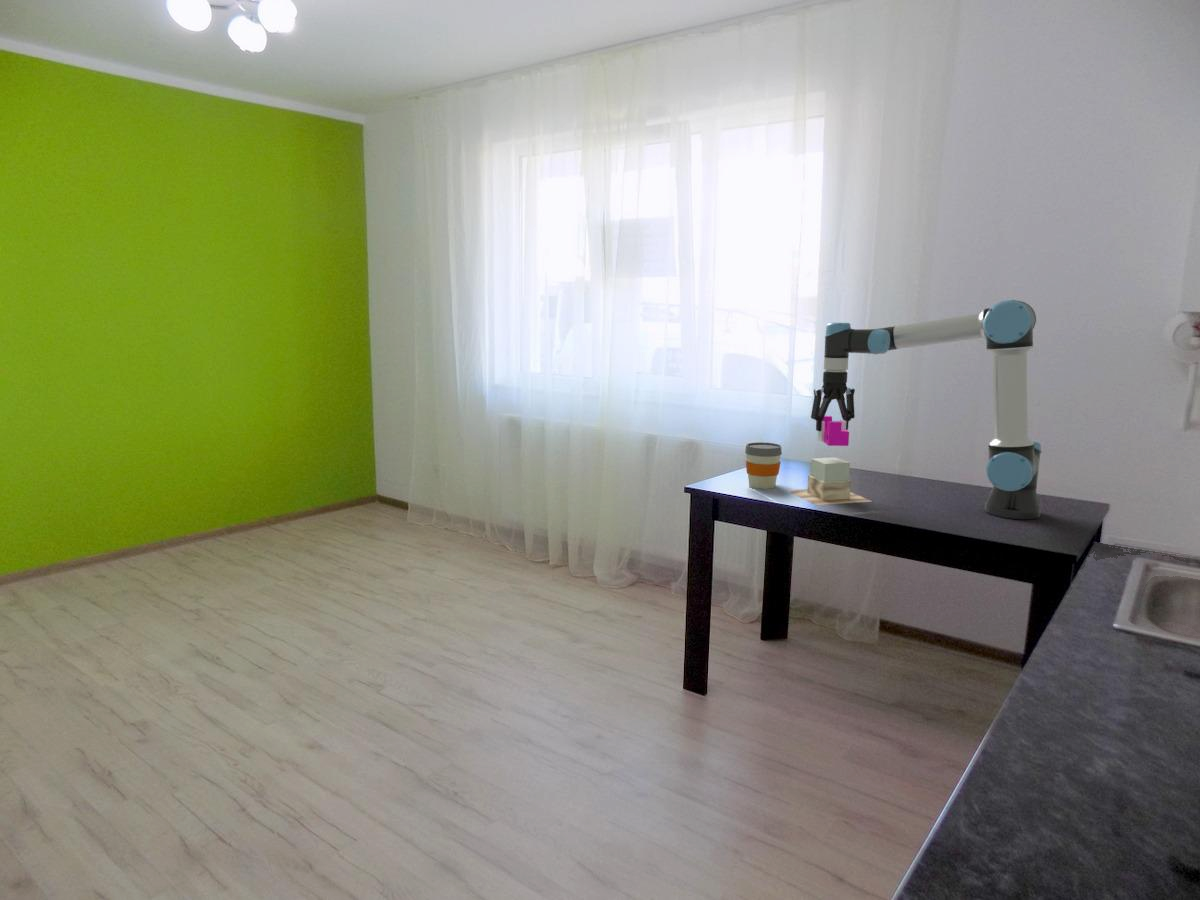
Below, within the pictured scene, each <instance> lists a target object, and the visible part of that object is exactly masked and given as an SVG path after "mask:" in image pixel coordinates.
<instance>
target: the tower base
mask: <svg viewBox="0 0 1200 900" xmlns="http://www.w3.org/2000/svg"><path fill="white" fill-rule="evenodd" d="M851 486H852V480H850V479H849V481H832V482H823V481H821V480H818V479H816V478H814V477H811V476H810V475H808V476H807V489H808V490H807V493H808V494H810V495H813V496H815V497H817V498H819V499H821V500H834V499H849V498H850V492H851V489H852V487H851Z"/></svg>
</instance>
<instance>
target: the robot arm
mask: <svg viewBox="0 0 1200 900" xmlns="http://www.w3.org/2000/svg"><path fill="white" fill-rule="evenodd" d="M1036 323H1037V315H1036V312H1035V310H1034V308H1033V307H1032V306H1031V305H1030V304H1028V303H1026V302H1025V301H1022V300H1015V299H1007V300H1002V301H999V302H997V303H995V304H994V305H993V306H992V307H989V308H983V310H982V311H980V312H978V313H977V312H976V313H971V314H965V315H960V316H959V315H958V316H952V317H945V318H939V319H933V320H926V321H920V322H913V323H907V324H900V325H895V326H894V325H893V326H887V327H880V328H871V329H868V328H866V329H855V328H852V327H851V323H850V322H828V323H827V325H826V326H825V327H826V328H825V329H826V330H825V336H824V359H823V370H824V371H823V372H822V373H823V374H822V383H823V384H822V386H821V388H814V389H813V395H814V397H813V402H812V403H813V404H812V409H811V414H810V418H811V419H812V420H814V421H815V423H816V425H815V430H816V431H817V441H818V442H823V441H824V428H825V422H824V421H823V418H824V416H826V414H827V412H828V408H829V405H830V404H831V402H832V401H833V400H836V402H837V406H838V407H839V411H840V415H841V418H842V419H840V420H839V421H840V422H842V427H841V430H847V431H849V423H850V421H851V420H852V419H854V418H855V416H856V415H855V401H854V400H855V399H854V396H855V392H856V390H855V388H852V387H847V382H848V372H847V371H848V370H849V357H850V356H849V354H852V353H853V354H869V355H870V354H871V355H872V354H873V355H879V354H880V355H881V354H883V355H884V354H886V353H887V352H888V351H893V350H900V349H901V350H903V349H909V348H916V347H923V346H929V345H930V346H931V345H937V344H940V345H941V344H945V343H947V344H948V343H953V342H954V343H955V342H962V341H969V340H974V339H976V340H977V339H984V340H985V341H986V351H987V352H988V353H989V354H990V355H992V389H993V390H992V394H993V395H992V396H993V397H992V398H993V399H992V400H993V438H992V439H991V440H990V441H989V442H988V443H987V445H988V448H987V449H988V461H987V463H986V467H985V470H986V471H985V473H986V476H987V479H988V481H989V482H990V483H991V484H992V485H993V486H992V489H991V491H990V493H989V496H988V499H987V500H986V501H985V504H984V511H985V512H986V513H988V514H991V515H993V516H996V517H1000V518H1005V519H1006V518H1007V519H1015V520H1034V519H1035V520H1036V519H1038V518H1040V517H1041V511H1042V510H1041V506H1040V503H1039V501H1040V500H1039V497H1038V493H1037V488H1038V487H1037V486H1038V477H1039V469H1040V459H1041V454H1042V444H1041V442H1039V441H1034V440H1033V441H1032V439H1030V437H1029V433H1028V432H1029V431H1028V428H1029V427H1028V426H1029V425H1028V424H1029V422H1028V420H1029V419H1028V415H1029V414H1028V353H1029V351H1030V350H1031V349H1032V348H1033V347H1034V328H1035V326H1036ZM845 393H846V394H845ZM823 394H824V395H823ZM822 396H823V397H822Z"/></svg>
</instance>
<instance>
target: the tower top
mask: <svg viewBox="0 0 1200 900" xmlns="http://www.w3.org/2000/svg"><path fill="white" fill-rule="evenodd" d="M850 466H851V462H849V461H847V460H844V459H841V458H838V457H822V458H821V457H818V458H815V457H814V458H811V459H810V474H809V476H811V477H814V478H816V479H818V480H821V481H823V482H832V481H849V480H850V470H851V467H850Z"/></svg>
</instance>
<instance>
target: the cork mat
mask: <svg viewBox="0 0 1200 900" xmlns="http://www.w3.org/2000/svg"><path fill="white" fill-rule="evenodd" d="M807 490H808V488H806V489H805V488H804V489H789V490H788V489H787V490H786V491H787V492H789V493H791V494H793V495H795V496H797V497H799V498H801V499H803V500H805V501H807V502H810V503H811V504H813V505H815V506H822V505H824V506H825V505H839V504H840V505H841V504H853V503H856V504H857V503H869V502H870V503H871V502H872V500H870V499H867V498H865V497H863V496H862V495H861V496H860V495H858V494H856V493H853V492H851V491H850V498H849V499H834V500H821V499H819V498H817V497H815V496H813V495H810V494H808V493H807Z"/></svg>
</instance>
